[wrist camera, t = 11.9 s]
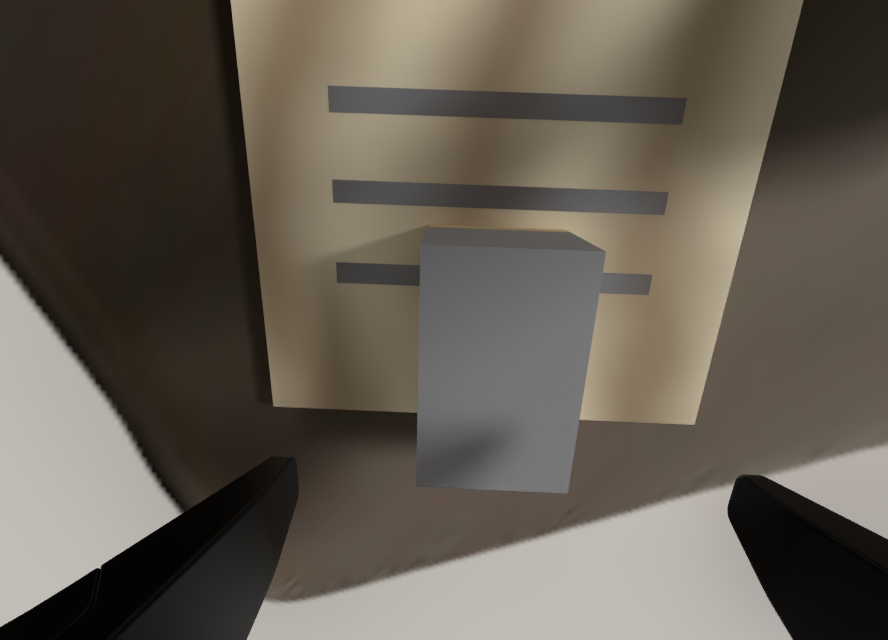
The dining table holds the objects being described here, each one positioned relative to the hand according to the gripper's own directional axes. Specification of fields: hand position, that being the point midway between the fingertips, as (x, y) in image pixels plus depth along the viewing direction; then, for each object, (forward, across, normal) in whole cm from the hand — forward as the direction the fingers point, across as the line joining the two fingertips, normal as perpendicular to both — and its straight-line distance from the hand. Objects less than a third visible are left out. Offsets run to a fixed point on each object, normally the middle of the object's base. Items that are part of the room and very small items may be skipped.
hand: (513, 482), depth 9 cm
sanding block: (+9, 0, 0) cm, 9 cm away
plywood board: (+10, 0, -7) cm, 12 cm away
